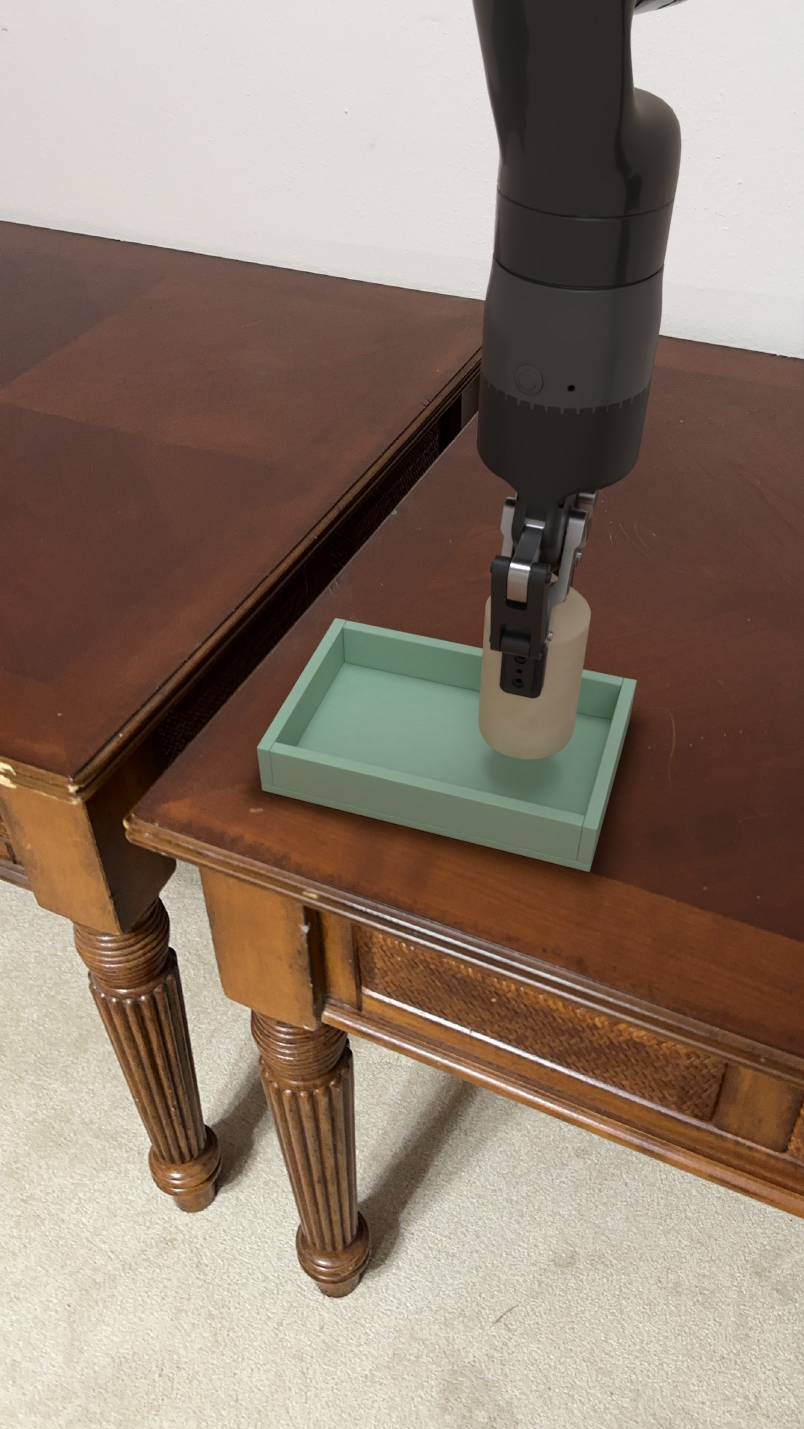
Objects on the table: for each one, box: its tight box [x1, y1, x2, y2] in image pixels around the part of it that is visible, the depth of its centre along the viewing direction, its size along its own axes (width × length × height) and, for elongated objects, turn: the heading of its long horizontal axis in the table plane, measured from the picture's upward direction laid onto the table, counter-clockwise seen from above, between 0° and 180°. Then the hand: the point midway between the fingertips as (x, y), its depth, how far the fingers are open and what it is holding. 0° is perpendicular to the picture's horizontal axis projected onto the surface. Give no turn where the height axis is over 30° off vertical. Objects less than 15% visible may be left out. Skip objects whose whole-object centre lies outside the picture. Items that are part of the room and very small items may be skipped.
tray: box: [256, 617, 638, 873], centre depth 66 cm, size 20×13×4 cm, turn 72°
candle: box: [478, 572, 592, 760], centre depth 60 cm, size 6×6×10 cm
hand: (534, 654), depth 60 cm, fingers closed on candle, 5 cm apart
